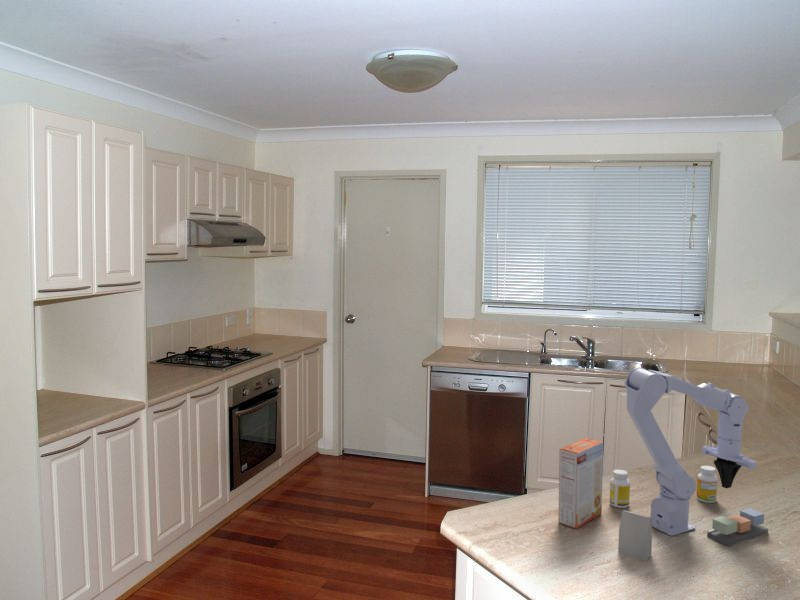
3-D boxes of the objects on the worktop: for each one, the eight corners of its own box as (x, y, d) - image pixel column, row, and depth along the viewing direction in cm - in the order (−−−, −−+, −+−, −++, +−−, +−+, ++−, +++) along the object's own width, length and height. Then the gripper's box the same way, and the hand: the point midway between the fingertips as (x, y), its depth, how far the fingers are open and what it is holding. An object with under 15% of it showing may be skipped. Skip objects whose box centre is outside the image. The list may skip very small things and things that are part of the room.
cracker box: (582, 508, 183) (585, 436, 182) (602, 514, 179) (605, 441, 177) (556, 522, 174) (558, 447, 172) (576, 530, 169) (578, 452, 167)
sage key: (726, 534, 162) (727, 525, 162) (712, 528, 165) (712, 518, 165) (736, 531, 164) (737, 521, 164) (722, 525, 167) (723, 515, 167)
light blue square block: (754, 526, 167) (754, 516, 167) (739, 520, 171) (740, 510, 170) (763, 523, 169) (764, 513, 169) (749, 517, 172) (749, 508, 172)
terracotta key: (740, 533, 165) (740, 523, 164) (726, 527, 168) (726, 517, 168) (750, 530, 166) (750, 520, 166) (735, 523, 170) (736, 514, 170)
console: (728, 546, 161) (728, 540, 161) (707, 536, 166) (707, 530, 166) (767, 533, 168) (768, 527, 168) (746, 524, 174) (746, 518, 174)
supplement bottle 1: (632, 504, 186) (633, 471, 185) (624, 510, 182) (625, 476, 181) (614, 499, 190) (615, 467, 189) (606, 504, 186) (607, 471, 185)
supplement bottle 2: (699, 494, 194) (700, 463, 193) (718, 499, 191) (720, 467, 190) (694, 500, 190) (695, 468, 189) (713, 505, 186) (715, 472, 185)
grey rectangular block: (646, 560, 153) (647, 520, 153) (618, 552, 158) (619, 512, 157) (651, 555, 156) (652, 515, 155) (623, 546, 161) (625, 507, 160)
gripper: (764, 443, 167) (761, 493, 169) (714, 428, 180) (712, 475, 181) (747, 447, 164) (744, 498, 165) (697, 432, 177) (695, 479, 178)
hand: (726, 487), depth 173 cm, fingers closed
